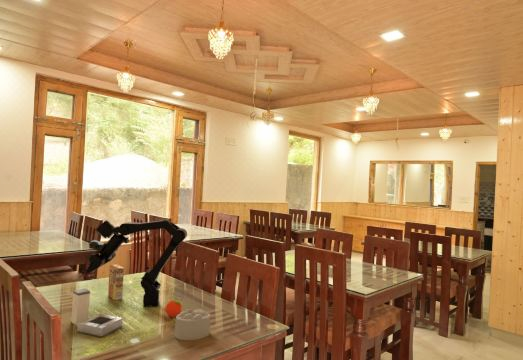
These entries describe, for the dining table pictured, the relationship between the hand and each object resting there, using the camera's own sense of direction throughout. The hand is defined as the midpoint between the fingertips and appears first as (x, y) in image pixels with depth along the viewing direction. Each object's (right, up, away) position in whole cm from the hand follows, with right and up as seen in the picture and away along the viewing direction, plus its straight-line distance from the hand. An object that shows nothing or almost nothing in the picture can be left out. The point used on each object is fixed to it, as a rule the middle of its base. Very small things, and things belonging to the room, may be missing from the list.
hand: (91, 270), depth 166 cm
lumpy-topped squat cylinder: (+53, -17, -29) cm, 63 cm away
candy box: (+8, -16, +8) cm, 19 cm away
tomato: (+42, -17, -13) cm, 47 cm away
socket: (+18, -15, -30) cm, 38 cm away
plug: (+7, -14, -24) cm, 29 cm away
